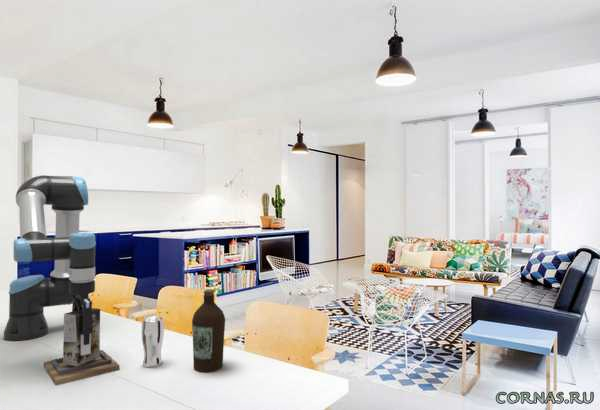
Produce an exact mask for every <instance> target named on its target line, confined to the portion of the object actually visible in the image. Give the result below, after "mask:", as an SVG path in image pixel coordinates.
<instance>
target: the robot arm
mask: <svg viewBox="0 0 600 410" xmlns="http://www.w3.org/2000/svg"><path fill="white" fill-rule="evenodd" d="M88 191H89V190H88V186H87V183H86V180H85V178H83V177H80V176H70V175H44V174H43V175H36V176H34V177H30V178H29V179H28V180H26V181H24V182H23V183H22V184H21V185H20V186H19V187H18V189H17V190H16V194H15V203H16V205H17V206H18V208H19V238H15V239H14V241H13V260H14V262H16V263H33V262H35V263H36V262H46V261H54V269H53V270H52V271H51V272H50V275H49V277H46V278H45V275H43V274H35V275H34V274H33V275H28V276H23V277H19V278H17V279H14V280H12V281H11V282H10V284H9V291H8V294H9V300H8V301H9V305H8V306H9V307H8V308H9V309H8V314H9V315H8V320H7V322H6V325H5V329H3V330H4V331H3V339H4V340H6V341H25V340H26V341H27V340H33V339H37V338H40V337H43V336H46V335H47V334H48V333H49V325H48V322H47V320H46V317H45V314H44V313H45V311H44V308H48V307H56V306H66V305H72V307H71V308H72V309H71V312H72V311H77V310H78V313H79V314H83V317H82V319H81V329H82V333H80V334H79V335H81V355H86V354H91V333H93V322H92V308H93V307H92V306H93V301H92V300H91V298H90V296H89V295H90V294H93V293H94V292H95V291H96V281H95V279H96V245H97V243H96V235H95V233H94V232H80V215H81V213H82V212H83V211H84V210H85V206H88V205H89V192H88ZM45 205H51V210H52V211H53V212H54V213H55V236H54V237H47V228H46V218H45V217H46V216H45V208H44V206H45ZM87 329H88V330H87Z"/></svg>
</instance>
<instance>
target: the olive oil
mask: <svg viewBox="0 0 600 410" xmlns="http://www.w3.org/2000/svg"><path fill="white" fill-rule="evenodd" d="M203 294H204V295H203V303H202V304H201V305H200V306H199V307H198V308H197V310H196V311H195V312H194V314H193V316H192V321H191V328H192V351H193V352H192V353H193V357H192V358H193V369H194V370H195V371H197V372H199V373H212V372H216V371H219V370H220V369H222V368H223V365H224V348H225V347H224V346H225V344H224V343H225V330H226V328H225V327H226V316H225V314H224V311H223V310H222V309H221V307H219V306H218V305H217V304H216V303H215V290H213V289H207V290H204V291H203Z"/></svg>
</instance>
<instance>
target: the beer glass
mask: <svg viewBox="0 0 600 410" xmlns="http://www.w3.org/2000/svg"><path fill="white" fill-rule="evenodd" d="M164 325H165V324H164V317H162V316H149V317H144V318H143V319H142V323H141V342H142V346H143V360H142V366H143V367H144V368H157V367H158V366H161V365H162V363H163V360H162V347H163V341H164V331H165V330H164V329H165V327H164Z"/></svg>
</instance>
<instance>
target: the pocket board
mask: <svg viewBox="0 0 600 410" xmlns="http://www.w3.org/2000/svg"><path fill="white" fill-rule="evenodd" d="M43 367H44V369H45V371H46V373H47V374H48V375H49V377H50V378H51V380H52V382H53V383H54V385H55V386H58V385H62V384H66V383H71V382H74V381H80V380H83V379H87V378H91V377H97V376H100V375H103V374H108V373H112V372H115V371H116V372H117V371H119V370H120V364H119V363H118V362H117V361H116V360H114V359H113V358H112V356H111V355H109V354H108V353H107V352H105V351H104V350H103V349H100V357H98V358H96V359H94V360H91V361H89V362H87V363H84V364H82V365H80V366H72V365H67V364H63V357H59V358H55V359H50V360H47V361H43Z"/></svg>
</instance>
